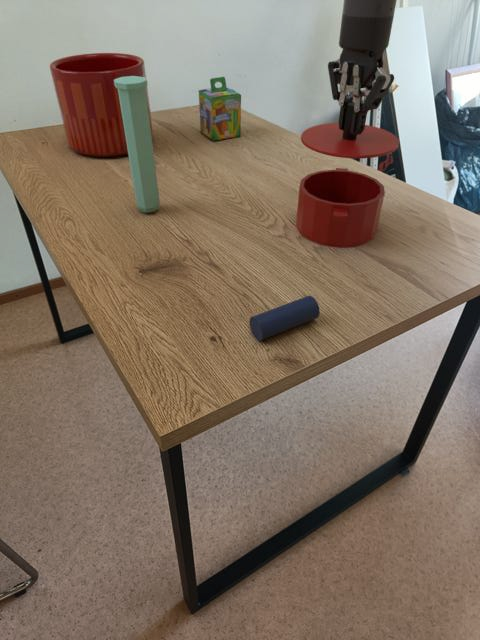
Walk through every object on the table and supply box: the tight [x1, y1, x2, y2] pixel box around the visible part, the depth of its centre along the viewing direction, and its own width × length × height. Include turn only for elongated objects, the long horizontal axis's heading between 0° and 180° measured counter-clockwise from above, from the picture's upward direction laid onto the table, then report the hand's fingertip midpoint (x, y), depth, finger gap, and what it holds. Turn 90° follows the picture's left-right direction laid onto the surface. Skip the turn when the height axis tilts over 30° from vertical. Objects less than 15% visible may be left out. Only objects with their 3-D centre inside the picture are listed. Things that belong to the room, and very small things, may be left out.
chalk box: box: [198, 76, 242, 142], centre depth 127 cm, size 9×9×15 cm
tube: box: [248, 295, 321, 342], centre depth 66 cm, size 10×4×4 cm, turn 120°
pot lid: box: [300, 101, 400, 160], centre depth 77 cm, size 17×17×7 cm
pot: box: [295, 167, 386, 248], centre depth 87 cm, size 16×21×8 cm
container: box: [114, 76, 161, 214], centre depth 87 cm, size 6×6×25 cm
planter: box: [49, 52, 154, 158], centre depth 119 cm, size 23×23×20 cm
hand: (350, 131), depth 78 cm, fingers closed on pot lid, 2 cm apart
